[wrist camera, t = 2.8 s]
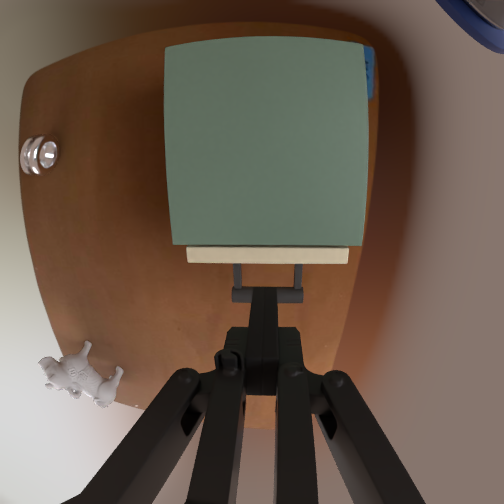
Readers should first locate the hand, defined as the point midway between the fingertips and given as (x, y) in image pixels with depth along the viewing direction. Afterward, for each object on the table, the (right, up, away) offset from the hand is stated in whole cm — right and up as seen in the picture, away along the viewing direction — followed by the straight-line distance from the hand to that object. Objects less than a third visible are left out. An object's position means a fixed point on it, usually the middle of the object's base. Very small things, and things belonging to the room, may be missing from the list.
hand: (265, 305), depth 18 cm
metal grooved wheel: (-25, +16, +7) cm, 31 cm away
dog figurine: (-27, -14, +19) cm, 36 cm away
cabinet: (+1, +14, +6) cm, 15 cm away
